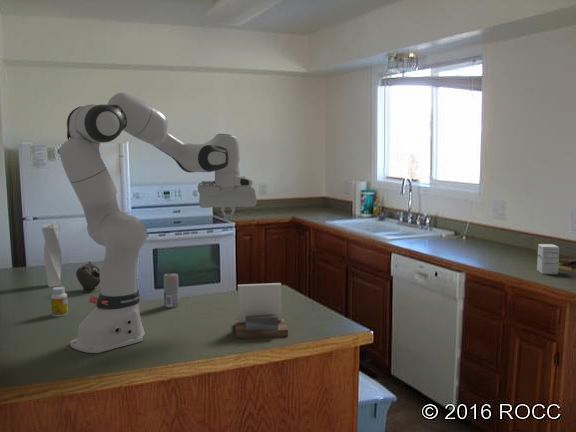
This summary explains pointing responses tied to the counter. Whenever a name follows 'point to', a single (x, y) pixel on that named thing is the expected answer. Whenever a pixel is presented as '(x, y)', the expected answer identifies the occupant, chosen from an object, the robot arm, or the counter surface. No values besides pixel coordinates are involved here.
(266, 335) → the bar
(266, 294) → the white flat panel
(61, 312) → the supplement bottle
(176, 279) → the energy drink
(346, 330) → the counter surface
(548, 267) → the supplement box
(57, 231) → the skyscraper
